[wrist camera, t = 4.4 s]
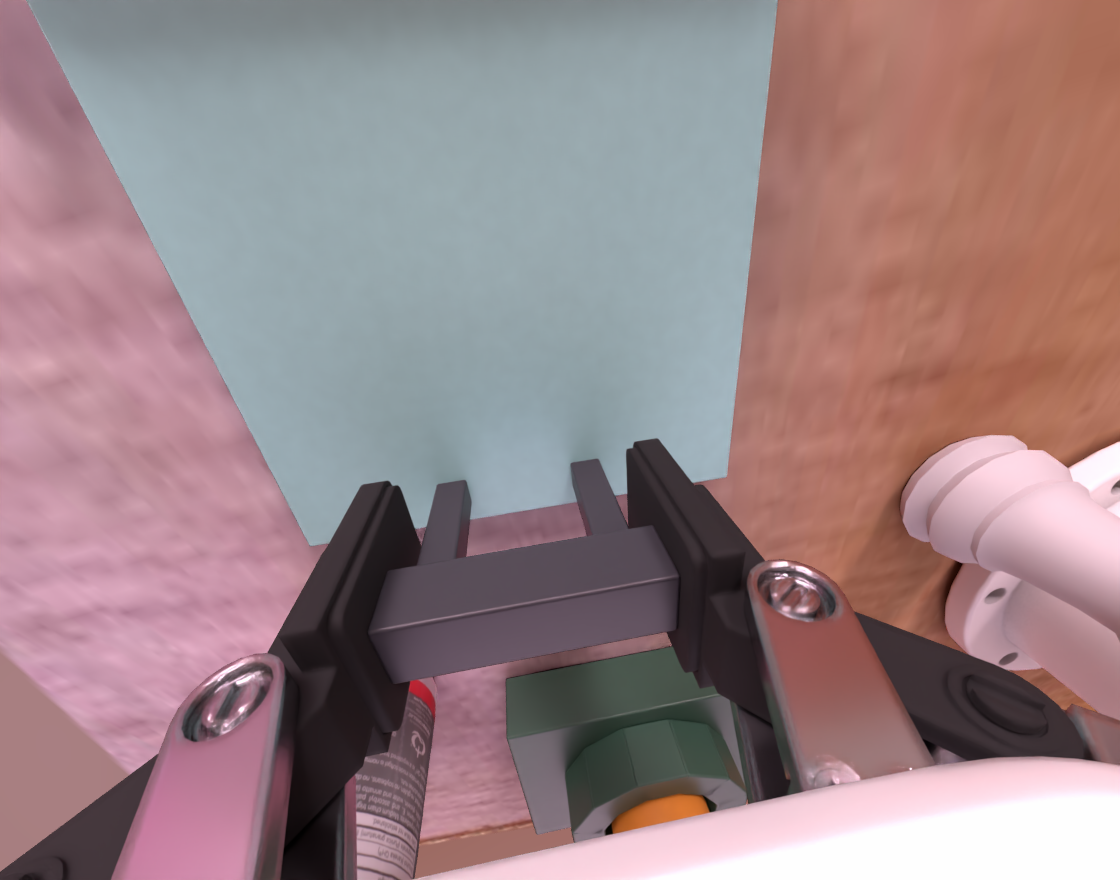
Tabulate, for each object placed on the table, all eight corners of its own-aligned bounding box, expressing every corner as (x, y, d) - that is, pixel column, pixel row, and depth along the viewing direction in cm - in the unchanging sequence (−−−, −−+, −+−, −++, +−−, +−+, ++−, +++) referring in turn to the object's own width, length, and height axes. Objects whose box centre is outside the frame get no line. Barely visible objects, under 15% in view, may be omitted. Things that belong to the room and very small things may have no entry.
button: (708, 779, 14) (733, 845, 13) (701, 823, 16) (723, 886, 14) (608, 800, 14) (622, 871, 12) (613, 843, 16) (625, 910, 14)
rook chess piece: (983, 523, 16) (1385, 762, 9) (876, 542, 15) (1201, 808, 8) (1036, 418, 14) (1624, 621, 6) (913, 438, 13) (1390, 674, 6)
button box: (745, 631, 17) (811, 737, 13) (728, 735, 20) (775, 839, 17) (505, 677, 16) (507, 803, 12) (532, 776, 20) (539, 895, 16)
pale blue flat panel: (759, -40, 7) (1238, -544, 3) (714, 464, 13) (849, 608, 8) (66, 10, 7) (-1097, -586, 2) (320, 528, 12) (195, 735, 7)
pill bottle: (368, 745, 17) (231, 1283, 8) (252, 690, 14) (-114, 1369, 6) (469, 685, 16) (433, 1220, 7) (362, 617, 14) (124, 1289, 5)
